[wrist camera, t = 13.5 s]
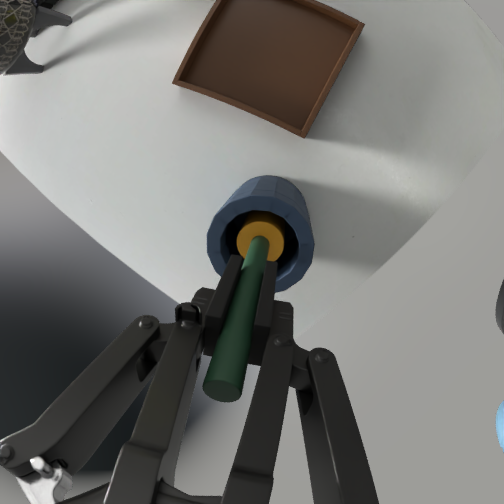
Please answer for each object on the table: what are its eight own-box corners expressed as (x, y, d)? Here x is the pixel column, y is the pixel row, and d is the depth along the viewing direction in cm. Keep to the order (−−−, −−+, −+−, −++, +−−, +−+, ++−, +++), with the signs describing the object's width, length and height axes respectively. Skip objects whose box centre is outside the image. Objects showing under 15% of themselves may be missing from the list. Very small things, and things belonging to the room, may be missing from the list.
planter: (16, 63, 25) (-62, 68, 9) (53, -1, 20) (-24, -16, 4) (45, 90, 27) (-49, 98, 11) (89, 16, 22) (-3, -8, 6)
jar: (320, 197, 30) (333, 228, 21) (284, 260, 34) (281, 309, 25) (249, 161, 30) (231, 176, 21) (218, 228, 33) (192, 267, 24)
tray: (360, 30, 21) (365, 24, 19) (303, 138, 28) (304, 138, 26) (236, -17, 20) (232, -25, 18) (179, 86, 27) (171, 83, 25)
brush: (288, 209, 27) (281, 370, 9) (281, 246, 29) (263, 423, 11) (247, 202, 27) (170, 347, 9) (243, 239, 29) (176, 405, 11)
